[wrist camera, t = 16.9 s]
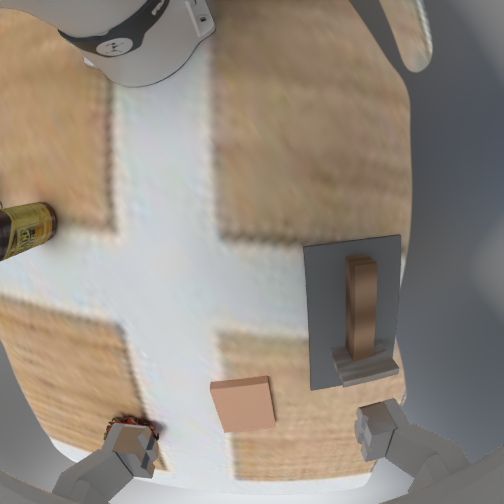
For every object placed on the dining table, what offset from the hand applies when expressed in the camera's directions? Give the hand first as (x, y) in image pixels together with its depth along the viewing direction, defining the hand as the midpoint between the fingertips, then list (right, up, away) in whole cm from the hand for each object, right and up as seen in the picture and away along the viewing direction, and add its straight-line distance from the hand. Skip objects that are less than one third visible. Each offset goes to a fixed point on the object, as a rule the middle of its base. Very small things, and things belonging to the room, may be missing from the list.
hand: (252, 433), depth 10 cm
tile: (-2, -13, +33) cm, 36 cm away
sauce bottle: (-31, +12, +27) cm, 43 cm away
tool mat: (+15, -3, +31) cm, 35 cm away
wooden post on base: (+15, -1, +30) cm, 33 cm away
